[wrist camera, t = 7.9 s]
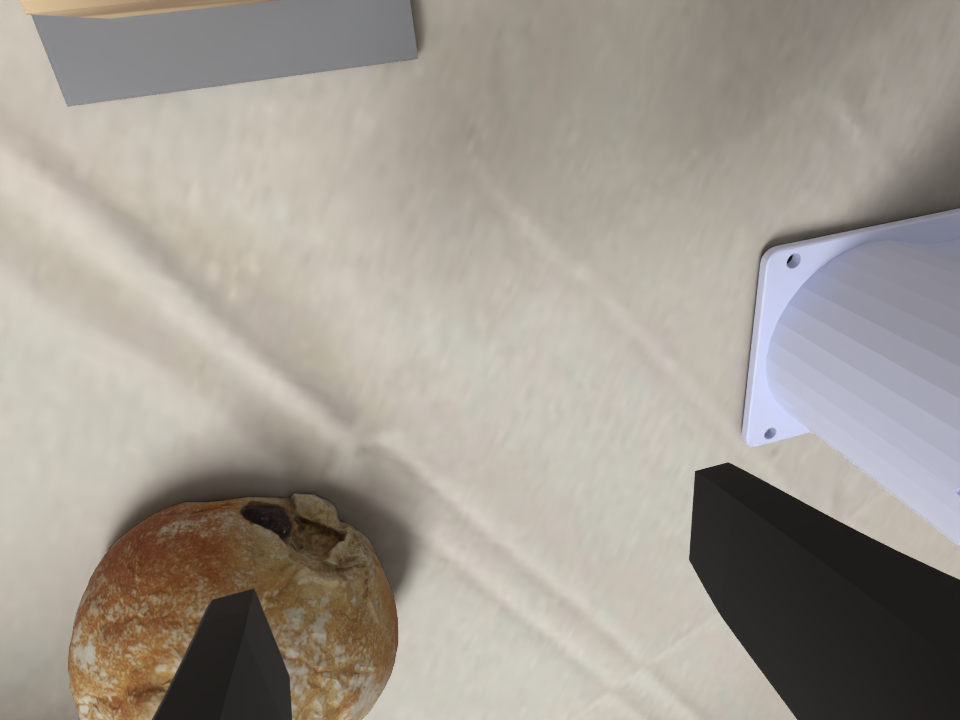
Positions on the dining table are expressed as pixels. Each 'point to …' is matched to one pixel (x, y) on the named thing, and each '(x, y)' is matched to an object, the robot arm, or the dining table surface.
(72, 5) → the oak block
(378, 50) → the slate coaster
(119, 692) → the bread roll
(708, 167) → the dining table surface
